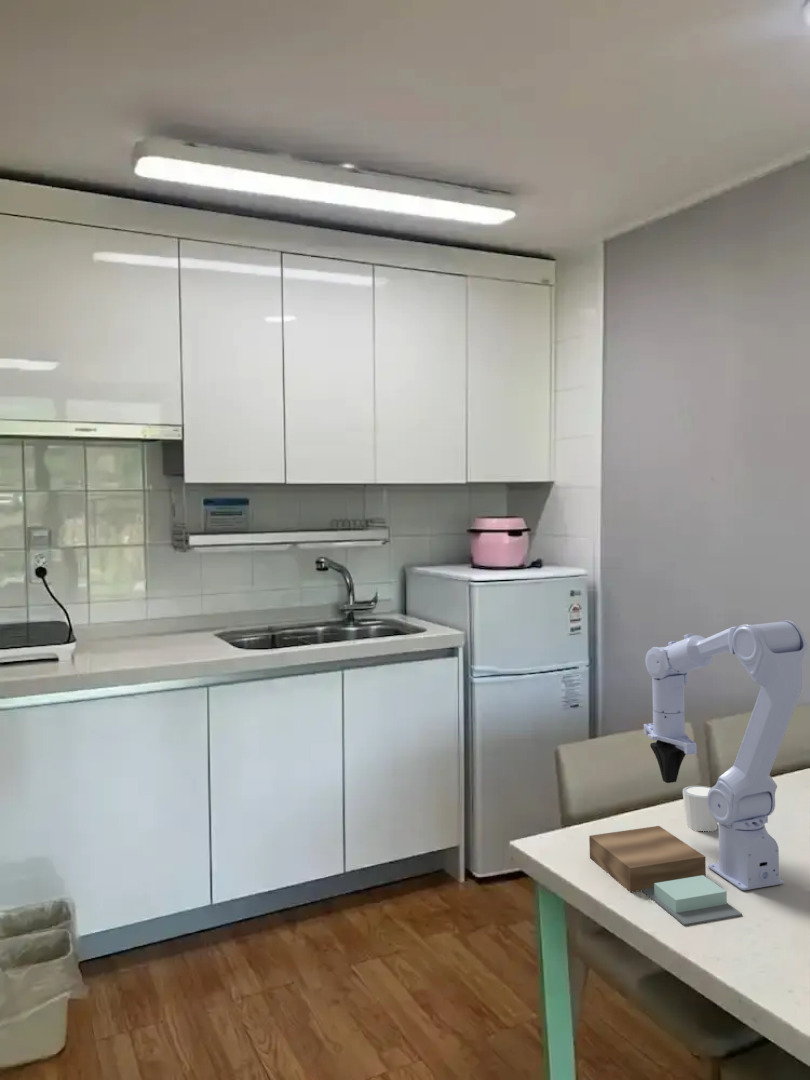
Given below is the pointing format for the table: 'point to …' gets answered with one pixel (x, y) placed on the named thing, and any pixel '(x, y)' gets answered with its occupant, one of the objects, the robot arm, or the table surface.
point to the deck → (645, 857)
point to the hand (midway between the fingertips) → (669, 781)
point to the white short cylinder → (698, 809)
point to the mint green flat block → (690, 893)
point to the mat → (697, 911)
